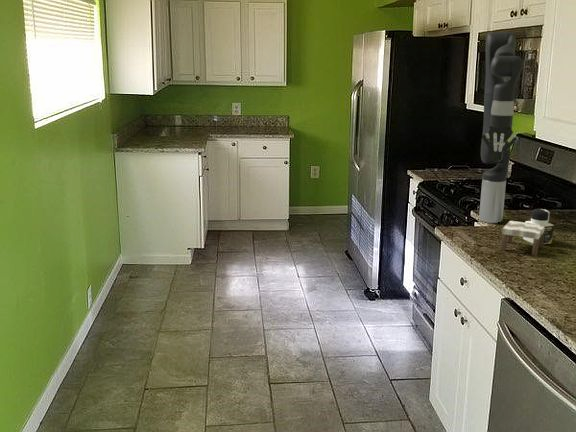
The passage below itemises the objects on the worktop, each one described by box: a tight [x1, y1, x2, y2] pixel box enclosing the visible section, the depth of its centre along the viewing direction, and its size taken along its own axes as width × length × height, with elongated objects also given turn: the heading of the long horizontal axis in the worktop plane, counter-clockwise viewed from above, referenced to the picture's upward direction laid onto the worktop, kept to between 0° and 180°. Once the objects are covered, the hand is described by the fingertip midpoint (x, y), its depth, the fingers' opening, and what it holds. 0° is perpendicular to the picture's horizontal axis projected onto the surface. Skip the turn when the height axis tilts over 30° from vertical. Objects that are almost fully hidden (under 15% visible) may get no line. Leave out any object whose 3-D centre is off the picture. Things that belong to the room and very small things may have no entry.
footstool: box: [500, 220, 545, 257], centre depth 215 cm, size 12×8×12 cm
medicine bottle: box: [522, 208, 554, 245], centre depth 223 cm, size 7×7×12 cm
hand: (497, 161), depth 222 cm, fingers closed
